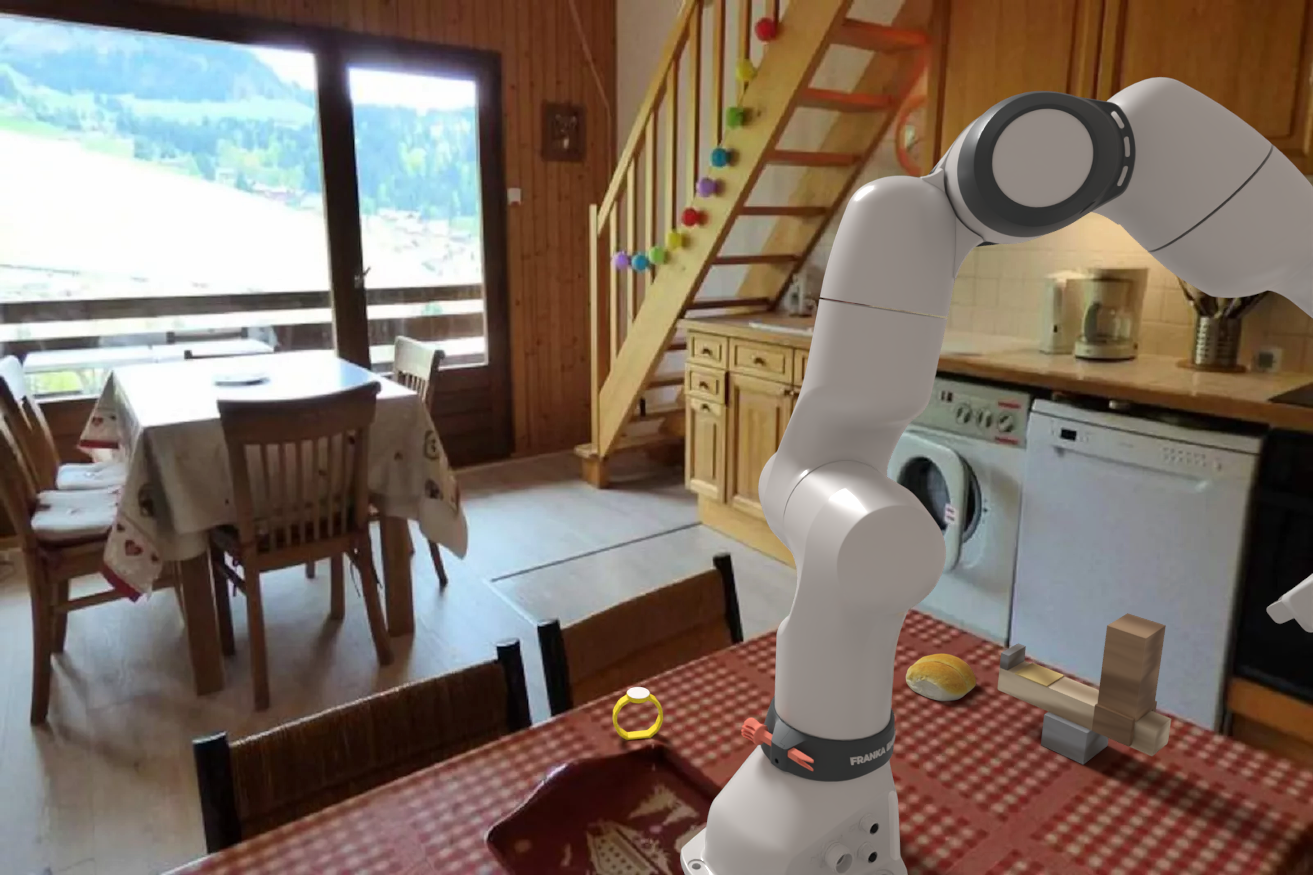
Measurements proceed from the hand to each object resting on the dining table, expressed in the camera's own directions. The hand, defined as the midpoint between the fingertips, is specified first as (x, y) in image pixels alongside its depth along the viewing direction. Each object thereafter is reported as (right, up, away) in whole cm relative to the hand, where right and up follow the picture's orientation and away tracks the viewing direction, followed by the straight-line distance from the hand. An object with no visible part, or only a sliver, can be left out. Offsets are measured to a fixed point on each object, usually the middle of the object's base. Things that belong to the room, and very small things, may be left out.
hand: (1278, 610), depth 83 cm
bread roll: (-22, -17, +32) cm, 43 cm away
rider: (-8, -16, +14) cm, 22 cm away
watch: (-62, -20, +21) cm, 69 cm away
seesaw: (-11, -20, +19) cm, 29 cm away
